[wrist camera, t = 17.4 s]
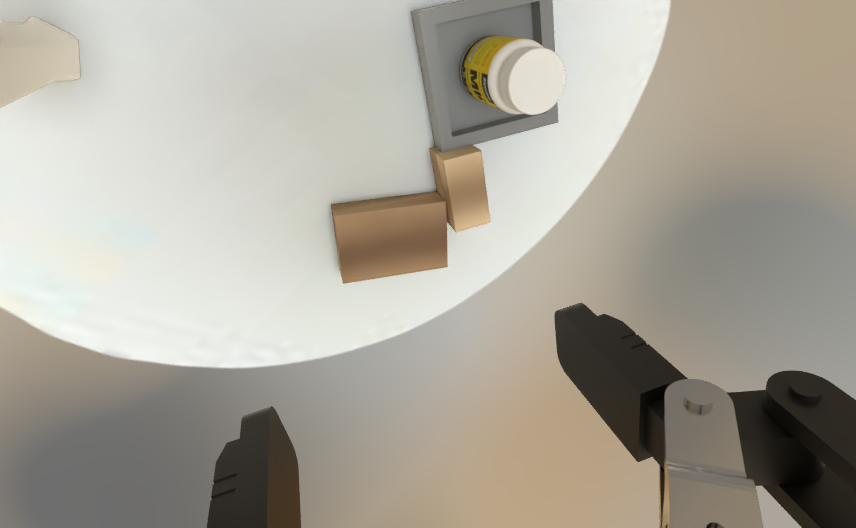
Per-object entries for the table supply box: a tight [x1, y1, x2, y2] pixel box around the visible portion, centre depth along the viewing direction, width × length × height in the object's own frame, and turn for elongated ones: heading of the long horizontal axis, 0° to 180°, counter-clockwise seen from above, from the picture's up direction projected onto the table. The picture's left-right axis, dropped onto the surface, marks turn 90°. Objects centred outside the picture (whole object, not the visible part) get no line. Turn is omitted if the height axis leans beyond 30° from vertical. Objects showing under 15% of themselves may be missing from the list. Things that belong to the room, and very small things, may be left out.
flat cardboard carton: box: [331, 191, 447, 284], centre depth 41 cm, size 6×9×3 cm, turn 92°
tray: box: [411, 0, 558, 153], centre depth 37 cm, size 10×10×2 cm
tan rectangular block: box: [430, 145, 490, 232], centre depth 39 cm, size 6×3×4 cm, turn 11°
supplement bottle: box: [460, 35, 566, 115], centre depth 34 cm, size 5×5×8 cm
